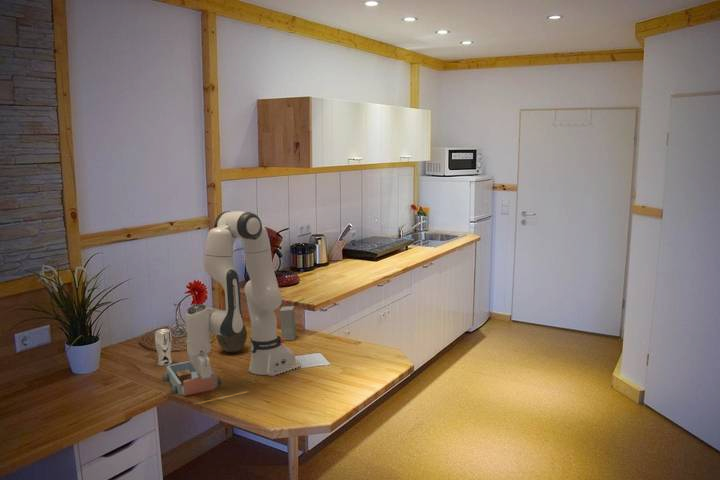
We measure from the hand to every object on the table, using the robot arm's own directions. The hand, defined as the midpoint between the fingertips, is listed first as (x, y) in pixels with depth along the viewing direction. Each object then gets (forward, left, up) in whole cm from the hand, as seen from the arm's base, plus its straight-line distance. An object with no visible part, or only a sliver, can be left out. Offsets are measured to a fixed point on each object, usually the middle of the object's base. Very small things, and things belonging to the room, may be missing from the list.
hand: (201, 381), depth 223 cm
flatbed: (+1, -12, -6) cm, 13 cm away
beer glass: (+5, -42, -6) cm, 43 cm away
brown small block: (+4, -11, -4) cm, 13 cm away
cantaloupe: (-26, -41, -6) cm, 49 cm away
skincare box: (-56, -44, -6) cm, 71 cm away
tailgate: (+1, 0, -5) cm, 5 cm away
